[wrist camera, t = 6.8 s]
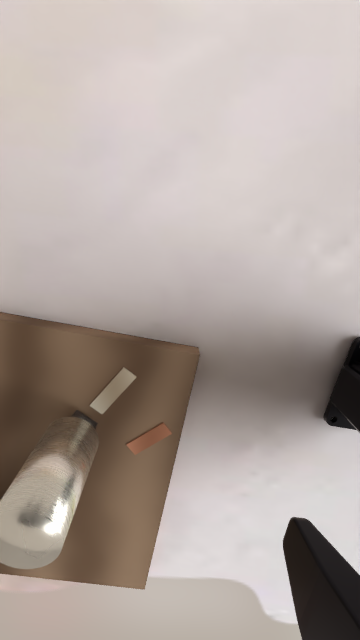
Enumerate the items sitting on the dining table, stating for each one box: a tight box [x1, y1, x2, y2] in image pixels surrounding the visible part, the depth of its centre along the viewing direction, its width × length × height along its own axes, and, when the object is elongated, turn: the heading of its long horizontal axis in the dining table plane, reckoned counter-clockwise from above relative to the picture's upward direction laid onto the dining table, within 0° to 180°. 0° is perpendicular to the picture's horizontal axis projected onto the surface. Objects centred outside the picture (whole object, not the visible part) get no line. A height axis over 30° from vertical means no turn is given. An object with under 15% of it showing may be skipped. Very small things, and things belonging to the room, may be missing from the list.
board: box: [0, 312, 200, 589], centre depth 20 cm, size 23×21×1 cm
